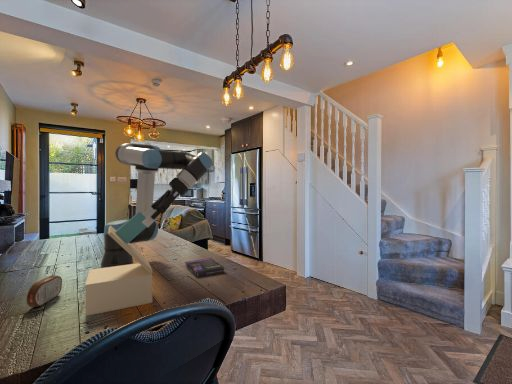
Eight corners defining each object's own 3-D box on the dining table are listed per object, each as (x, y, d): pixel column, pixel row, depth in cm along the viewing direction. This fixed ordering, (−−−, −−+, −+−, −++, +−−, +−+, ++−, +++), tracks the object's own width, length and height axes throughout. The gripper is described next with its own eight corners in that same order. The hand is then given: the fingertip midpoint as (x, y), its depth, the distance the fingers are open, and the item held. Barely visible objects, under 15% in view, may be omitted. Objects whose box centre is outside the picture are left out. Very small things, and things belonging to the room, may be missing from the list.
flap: (145, 261, 110) (167, 240, 115) (150, 273, 94) (176, 248, 99) (108, 227, 104) (134, 206, 108) (108, 234, 88) (137, 209, 92)
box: (185, 268, 138) (195, 278, 121) (185, 261, 138) (195, 271, 121) (211, 264, 144) (224, 273, 127) (211, 257, 144) (224, 266, 127)
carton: (146, 286, 111) (146, 262, 111) (152, 302, 95) (151, 274, 95) (89, 295, 101) (89, 269, 101) (85, 315, 85) (85, 284, 85)
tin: (55, 293, 104) (55, 272, 104) (64, 293, 104) (63, 272, 104) (25, 311, 89) (25, 286, 89) (35, 311, 89) (35, 286, 89)
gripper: (197, 189, 98) (155, 234, 92) (182, 189, 120) (147, 225, 114) (182, 175, 96) (137, 219, 89) (169, 177, 118) (133, 213, 111)
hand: (142, 223), depth 101 cm, fingers open, 13 cm apart
